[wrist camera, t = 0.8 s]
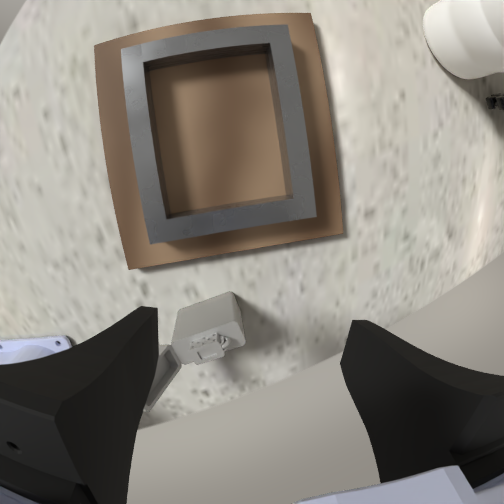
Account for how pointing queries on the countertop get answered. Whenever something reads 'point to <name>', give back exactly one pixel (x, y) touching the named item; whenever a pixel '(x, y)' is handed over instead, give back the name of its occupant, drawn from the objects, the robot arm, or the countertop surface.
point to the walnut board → (217, 140)
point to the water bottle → (467, 36)
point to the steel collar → (286, 115)
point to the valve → (495, 101)
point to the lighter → (198, 339)
